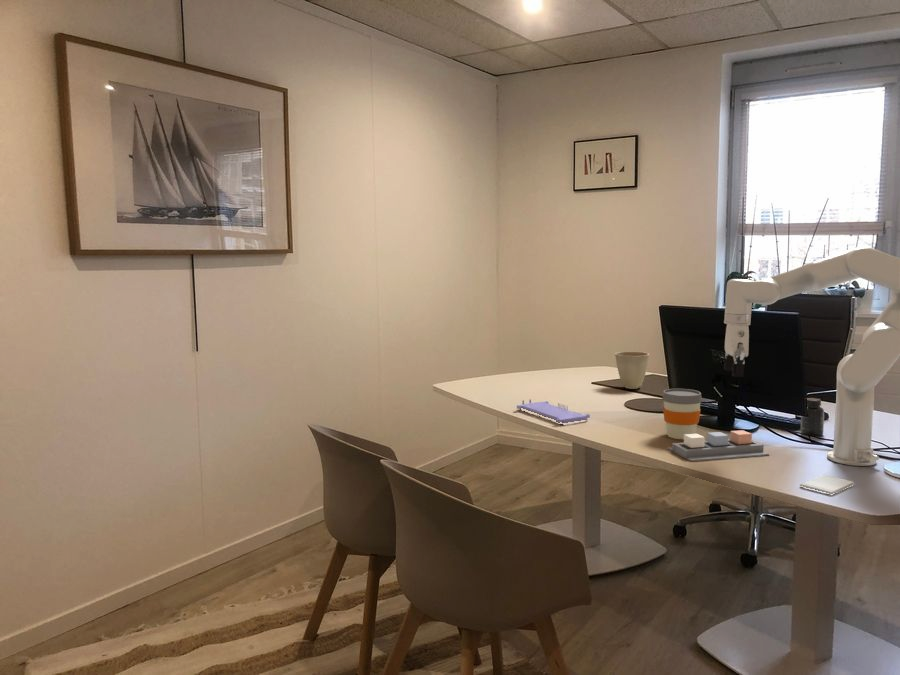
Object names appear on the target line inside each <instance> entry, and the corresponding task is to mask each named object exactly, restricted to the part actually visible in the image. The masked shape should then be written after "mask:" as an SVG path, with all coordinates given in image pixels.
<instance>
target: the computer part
mask: <svg viewBox="0 0 900 675" xmlns="http://www.w3.org/2000/svg"><path fill="white" fill-rule="evenodd" d="M521 408H523V409H526V410H528V411H531V412H534V413H537V414H539V415H542V416H544V417H548V418H551V419H554V420H556V422H558V423H560V422H562V423H568V422H574V421H581V420H587V421H588V419H590V417H591V415H590V414H589V413H587V414H585V413H584V414H582V413H580V412H576V411H572V410H568V409H569V408H568V405H564V404H562V407H561V403H559V402H558V403H557V406H555V405H554V404H551V403H549V401H538V402H537V401H536V402H532V399H529V402H528V403H525V400H522V404H519V405H516V409H517V410H520V409H521Z"/></svg>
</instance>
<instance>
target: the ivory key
mask: <svg viewBox="0 0 900 675" xmlns="http://www.w3.org/2000/svg"><path fill="white" fill-rule="evenodd" d="M705 438H706V437H705V436H703V435H701V434H699V433H695V434H684V439H683V443H684V444H685V445H687V446H689V447H691V448H695V447H704V443H705V441H706V440H705Z"/></svg>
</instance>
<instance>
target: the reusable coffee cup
mask: <svg viewBox="0 0 900 675" xmlns="http://www.w3.org/2000/svg"><path fill="white" fill-rule="evenodd" d="M662 401H663V408H662V411H663V420H664V422H665V426H666V435H668V436H667V437H668V438H671V439H676V440H684V434H697V427H698V426H697V425H698V424H699V422H700V417H701V410H702V409H701V403H702V393H701V392H700V391H699V390H695V389H691V388H690V389H689V388H687V389H686V388H669V389H668V388H667V389H665V390H663V393H662Z"/></svg>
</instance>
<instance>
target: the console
mask: <svg viewBox="0 0 900 675" xmlns="http://www.w3.org/2000/svg"><path fill="white" fill-rule="evenodd" d="M764 447H765V446H764V444H762V443H760V442H757V441H754V440H753V439H752V442H751V443H747V444H737V443H735V442H733V441H730V438H728V445H721V446H714V445H712V444H710V443H708V442H707V440H705V443H704V447H695V448H691V447H689V446H687V445H685V444H684V442H672V443H671V446H668V447H666V448H668V450H669V451H671V452H672V451H673V453H674V452H675V454H676V453H677V454H676V455H678V456H680V457H682V458H683V457H684V459H685V458H686V459H685V460H687V459H688V460H687V461H689V460H690V461H689V462H691V461H693V462H700V461H699V460H706V461H715V460H716V461H717V460H727V459H729V460H731V459H742V458H743V459H744V458H753V457H765V456H766V457H767V456H770V453H768V452H766V451H764Z"/></svg>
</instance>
